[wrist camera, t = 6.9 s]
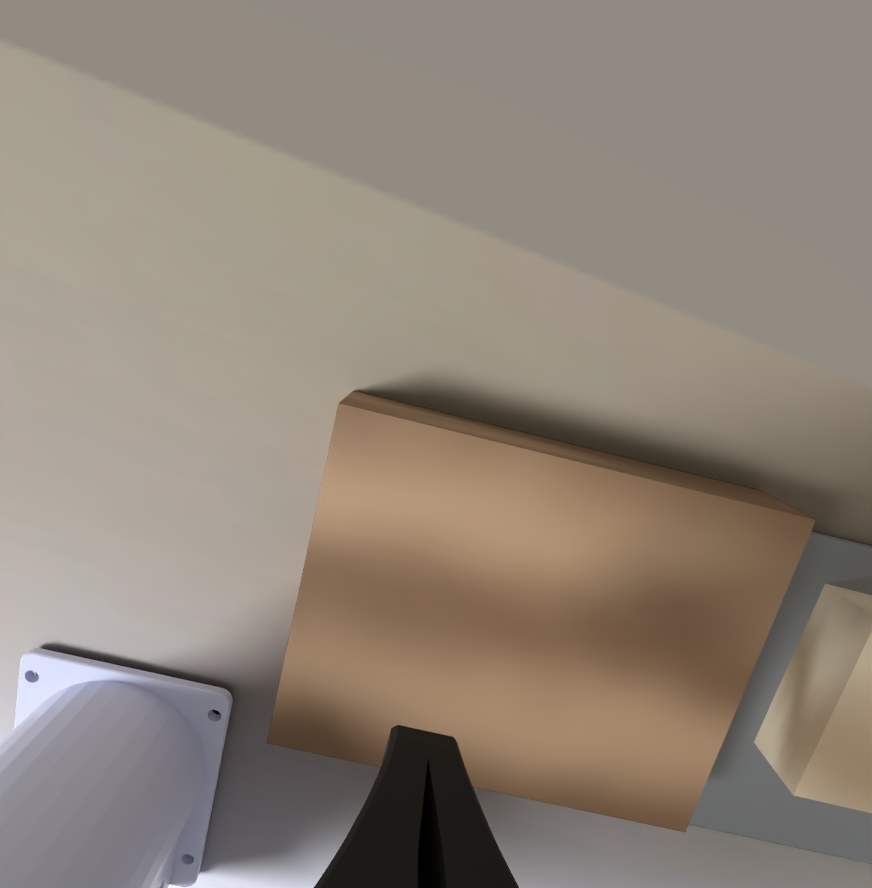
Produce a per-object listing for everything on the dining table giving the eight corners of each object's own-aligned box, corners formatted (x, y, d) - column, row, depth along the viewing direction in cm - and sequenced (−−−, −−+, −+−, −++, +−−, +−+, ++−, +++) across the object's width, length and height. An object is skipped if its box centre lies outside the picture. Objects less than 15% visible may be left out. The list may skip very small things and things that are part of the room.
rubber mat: (923, 867, 24) (930, 876, 23) (644, 807, 23) (647, 816, 23) (1070, 594, 21) (1082, 599, 21) (758, 518, 20) (765, 522, 20)
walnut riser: (653, 766, 23) (685, 832, 20) (289, 686, 22) (266, 742, 19) (761, 490, 20) (815, 520, 17) (353, 390, 19) (338, 403, 16)
